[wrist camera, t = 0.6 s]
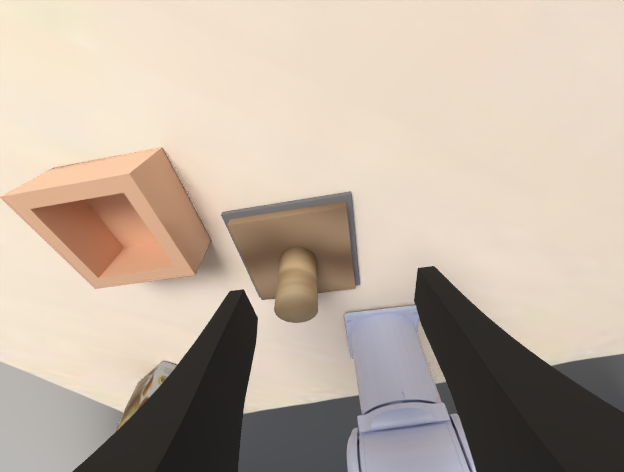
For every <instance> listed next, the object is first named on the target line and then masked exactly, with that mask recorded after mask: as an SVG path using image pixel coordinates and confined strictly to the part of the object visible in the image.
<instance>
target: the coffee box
mask: <svg viewBox="0 0 624 472" xmlns="http://www.w3.org/2000/svg"><path fill="white" fill-rule="evenodd" d="M176 366H177V365H175V364H172V363H169V362H166V361H164V362H161V363H160V364H159V365H158V366H157V367H155V368H154V369H153V370H152V371H151V372H150V373H149V374H148V375H146V376H145V377H144V378H143V379H142V380H141V381H140V382H139V383H138V384H137V386H136V388H135V390H134V392H133V394H132V396H131V398H130V400H129V402H128V404H127V406H126V408H125V411H124V413H123V415H122V417H121V419H120V421H119V423H118V425H117V427H116V429H115V431H114V433H115V432H116V431H117V430H118V429H119V428H120V427H121V426H122V425H123V424H124V423H125V422H126V421H127V420H128V419H129V418H130V417H131V416H132V415H133V414H134V413H135V412H136V411H137V410H138V409H139V408H140V407H141V406H142V405H143V404H144V403H145V402H146V401H147V400H148V398H149V397H150V396H151V395H152V394H153V393H154V392H155V391H156V390H157V389H158V387H159V386H160V385H161V384H162V383H163V382H164V381H165V379H166V378H167V377H168V376H169V375H170V373H171V372H172V371H173V370H174V369H175V367H176ZM114 433H113V434H114Z"/></svg>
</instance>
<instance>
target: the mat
mask: <svg viewBox="0 0 624 472" xmlns="http://www.w3.org/2000/svg"><path fill="white" fill-rule="evenodd" d="M343 201H345V202H346V206H347V215H348V224H349V233H350V243H351V252H352V261H353V270H354V279H355V285H360V281H359V270H358V259H357V248H356V237H355V227H354V216H353V205H352V194H351V192H345V193H339V194H333V195H326V196H320V197H314V198H308V199H301V200H295V201H289V202H283V203H276V204H270V205H264V206H258V207H252V208H245V209H239V210H233V211H227V212H222V214H221V216H222V218H223V220H224V222H225V224H226V226H227V225H228V222H229V220H230V219H235V218H241V217H248V216H254V215H260V214H267V213H273V212H279V211H286V210H292V209H299V208H305V207H311V206H318V205H324V204H330V203H337V202H343ZM227 228H228V226H227ZM228 231H229V233H230V235H231V237H232V234H231V232H230V230H229V228H228ZM232 239H233V237H232ZM233 241H234V239H233ZM234 244H235V246H236V248H237V250H238V247H237V245H236V243H235V241H234ZM238 252H239V250H238ZM239 254H240V252H239ZM240 256H241V254H240ZM241 259H242V261H243V263H244V265H245V262H244V260H243V258H242V256H241ZM245 267H246V265H245ZM246 269H247V267H246ZM247 271H248V269H247ZM248 274H249V276H250V278H251V275H250V273H249V271H248ZM251 280H252V278H251ZM252 282H253V280H252ZM253 284H254V282H253ZM254 286H255V284H254ZM255 289H256V291H257V288H256V286H255ZM257 293H258V291H257ZM258 295H259V293H258ZM259 297H260V295H259Z"/></svg>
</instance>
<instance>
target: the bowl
mask: <svg viewBox="0 0 624 472" xmlns="http://www.w3.org/2000/svg"><path fill="white" fill-rule="evenodd" d="M0 198H1V199H2V200H3V201H4V202H5V203H6V204H7V205H8V206H10V207H11V208H12V209H13V210H14V211H15V212H16V213H17V214H18V215H19V216H20V217H21V218H22V219H23V220H24V221H25V222H26V223H27V224H28V225H29V226H30V227H31V228H32V229H33V230H34V231H36V232H37V233H38V234H39V235H40V236H41V237H42V238H43V239H44V240H45V241H46V242H47V243H48V244H49V245H50V246H51V247H52V248H53V249H54V250H55V251H56V252H57V253H58V254H59V255H60V256H61V257H63V258H64V259H65V260H66V261H67V262H68V263H69V264H70V265H71V266H72V267H73V268H74V269H75V270H76V271H77V272H78V273H79V274H80V275H81V276H82V277H83V278H84V279H85V280H86V281H87V282H89V283H90V284H91V285H92V286H93V287H94V288H95V289H98V288H105V287H112V286H120V285H127V284H134V283H142V282H149V281H156V280H163V279H171V278H178V277H185V276H192V275H196V272H197V270H198V268H199V266H200V264H201V262H202V259H203V257H204V255H205V253H206V251H207V248H208V246H209V244H210V242H211V239H210V237H209V235H208V233H207V231H206V230H205V228H204V226H203V224H202V222H201V220H200V218H199V216H198V215H197V213H196V211H195V209H194V207H193V205H192V203H191V201H190V199H189V198H188V196H187V194H186V192H185V190H184V188H183V186H182V184H181V183H180V181H179V179H178V177H177V175H176V173H175V171H174V169H173V168H172V166H171V164H170V162H169V160H168V158H167V156H166V154H165V152H164V151H163V149H162V148H156V149H151V150H146V151H140V152H135V153H130V154H125V155H119V156H114V157H109V158H104V159H98V160H93V161H88V162H82V163H77V164H72V165H67V166H61V167H56V168H53V169H51V170H49V171H47V172H45V173H43V174H41V175H40V176H38V177H36V178H34V179H32V180H30V181H28V182H27V183H25V184H23V185H21V186H19V187H17V188H15V189H14V190H12V191H10V192H8V193H6V194H4V195H2V196H1V197H0Z"/></svg>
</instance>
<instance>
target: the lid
mask: <svg viewBox="0 0 624 472" xmlns="http://www.w3.org/2000/svg"><path fill="white" fill-rule="evenodd" d="M227 226H228V228H229V230H230V232H231V234H232V237H233V239H234V241H235V243H236V245H237V247H238V250H239V252H240V254H241V256H242V258H243V260H244V262H245V265H246V267H247V269H248V271H249V273H250V275H251V278H252V280H253V282H254V284H255V286H256V288H257V291H258V293H259V295H260V297H261V299H262V300H267V299H275V298H276V299H275V307H274V311H275V313H276V315H277V316H278V317H279V318H280V319H282V320H284V321H287V322H292V323H300V322H306V321H308V320H311V319H312V318H314V317H315V316H316V314H317V312H318V300H317V293H323V292H331V291H339V290H347V289H355V279H354V270H353V261H352V252H351V243H350V233H349V224H348V215H347V206H346V202H345V201H343V202H337V203H330V204H324V205H318V206H311V207H305V208H299V209H292V210H286V211H279V212H273V213H267V214H260V215H254V216H248V217H241V218H235V219H230V220H229V222H228V225H227Z"/></svg>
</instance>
